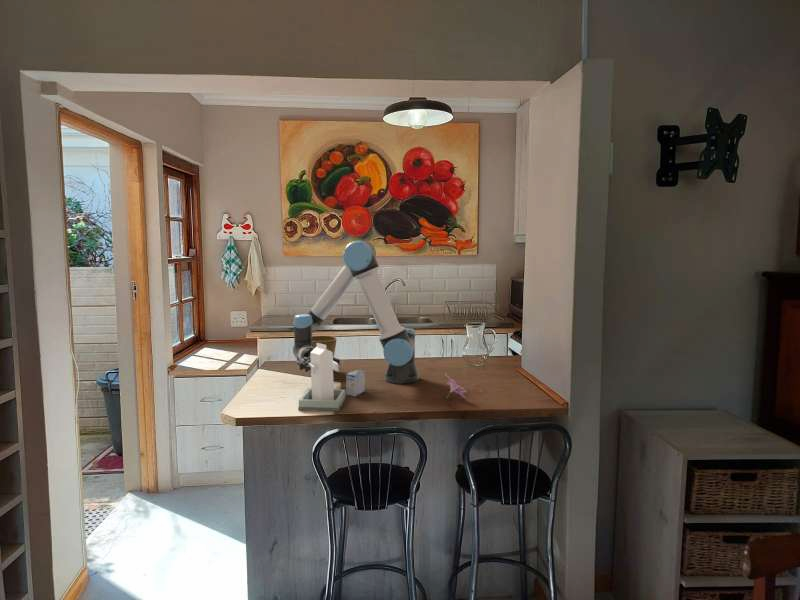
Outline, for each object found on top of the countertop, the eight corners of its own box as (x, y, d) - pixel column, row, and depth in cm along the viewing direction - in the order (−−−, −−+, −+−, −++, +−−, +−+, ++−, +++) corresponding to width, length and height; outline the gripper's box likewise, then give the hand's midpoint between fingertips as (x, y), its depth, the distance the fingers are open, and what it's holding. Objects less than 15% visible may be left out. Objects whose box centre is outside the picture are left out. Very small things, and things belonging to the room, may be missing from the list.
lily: (466, 408, 192) (475, 384, 194) (437, 395, 192) (446, 372, 194) (459, 407, 204) (468, 385, 206) (432, 396, 204) (441, 373, 206)
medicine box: (355, 389, 211) (355, 369, 210) (365, 391, 210) (365, 370, 208) (346, 395, 204) (345, 374, 203) (355, 396, 202) (355, 375, 201)
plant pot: (340, 373, 236) (340, 339, 234) (309, 377, 231) (308, 342, 229) (332, 366, 250) (331, 334, 248) (302, 369, 244) (301, 336, 242)
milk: (324, 397, 197) (323, 341, 195) (334, 401, 193) (332, 343, 190) (311, 401, 193) (309, 343, 190) (321, 404, 188) (319, 346, 186)
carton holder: (345, 398, 200) (345, 389, 199) (338, 411, 185) (338, 401, 185) (308, 397, 201) (308, 388, 200) (298, 410, 186) (298, 400, 186)
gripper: (334, 362, 212) (353, 375, 192) (284, 368, 203) (297, 382, 183) (334, 345, 211) (353, 356, 191) (283, 349, 202) (297, 362, 182)
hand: (326, 369), depth 187 cm, fingers open, 8 cm apart
